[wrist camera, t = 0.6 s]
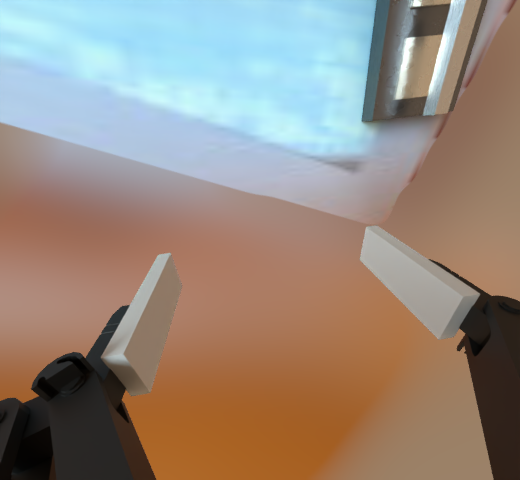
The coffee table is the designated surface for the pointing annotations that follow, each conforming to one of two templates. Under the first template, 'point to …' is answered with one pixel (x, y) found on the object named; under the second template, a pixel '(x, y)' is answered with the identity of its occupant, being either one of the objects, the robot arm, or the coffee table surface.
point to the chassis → (407, 56)
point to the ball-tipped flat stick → (451, 55)
